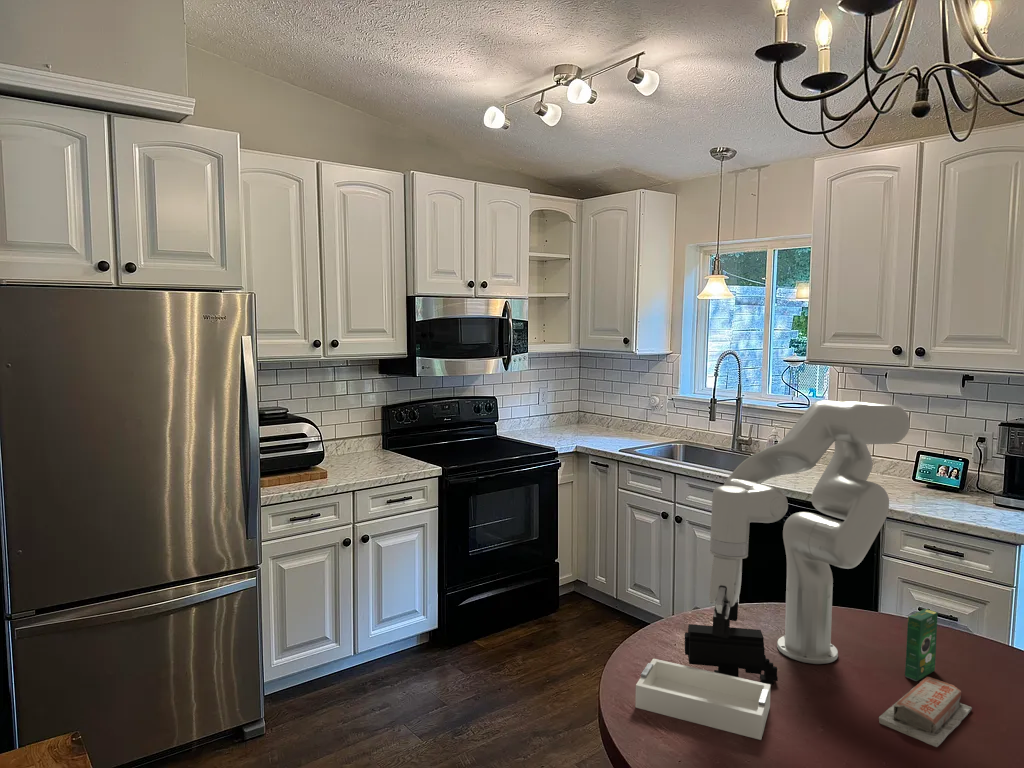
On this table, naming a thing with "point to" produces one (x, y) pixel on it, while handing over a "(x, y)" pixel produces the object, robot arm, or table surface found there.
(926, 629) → the coffee box
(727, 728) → the cradle
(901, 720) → the packaged product
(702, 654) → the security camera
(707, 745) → the table surface
